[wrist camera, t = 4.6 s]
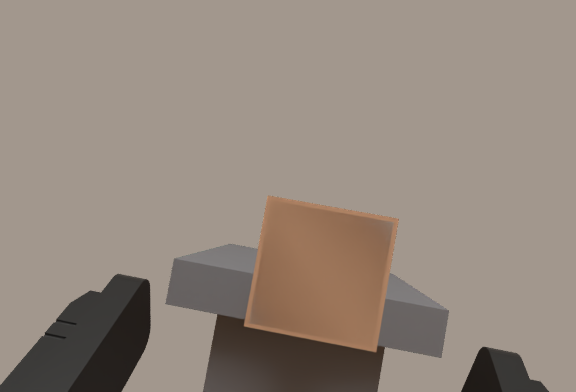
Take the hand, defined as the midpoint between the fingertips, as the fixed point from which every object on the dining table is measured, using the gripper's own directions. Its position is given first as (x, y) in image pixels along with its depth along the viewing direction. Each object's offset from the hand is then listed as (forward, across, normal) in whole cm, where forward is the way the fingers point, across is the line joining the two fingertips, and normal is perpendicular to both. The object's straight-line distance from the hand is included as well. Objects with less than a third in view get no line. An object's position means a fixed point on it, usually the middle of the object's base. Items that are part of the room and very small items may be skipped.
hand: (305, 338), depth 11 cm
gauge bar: (+10, 0, +6) cm, 12 cm away
